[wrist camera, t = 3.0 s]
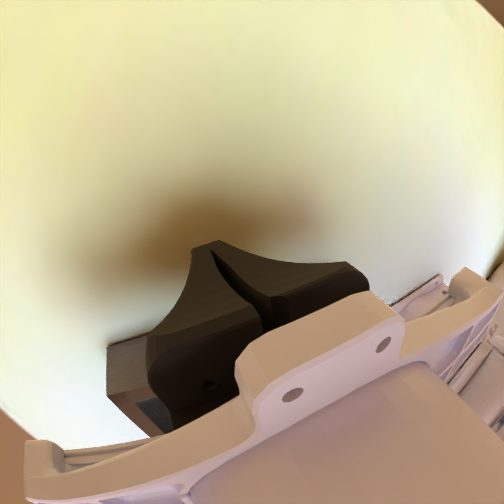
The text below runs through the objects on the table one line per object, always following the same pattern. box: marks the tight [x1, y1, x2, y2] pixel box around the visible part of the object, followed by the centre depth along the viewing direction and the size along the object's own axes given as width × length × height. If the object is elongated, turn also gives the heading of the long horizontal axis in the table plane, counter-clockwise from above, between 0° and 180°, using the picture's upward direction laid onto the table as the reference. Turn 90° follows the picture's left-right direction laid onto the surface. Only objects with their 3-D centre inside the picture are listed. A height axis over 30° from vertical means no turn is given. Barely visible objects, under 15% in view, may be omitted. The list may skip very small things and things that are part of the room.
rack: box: [106, 335, 174, 437], centre depth 18 cm, size 14×20×4 cm
